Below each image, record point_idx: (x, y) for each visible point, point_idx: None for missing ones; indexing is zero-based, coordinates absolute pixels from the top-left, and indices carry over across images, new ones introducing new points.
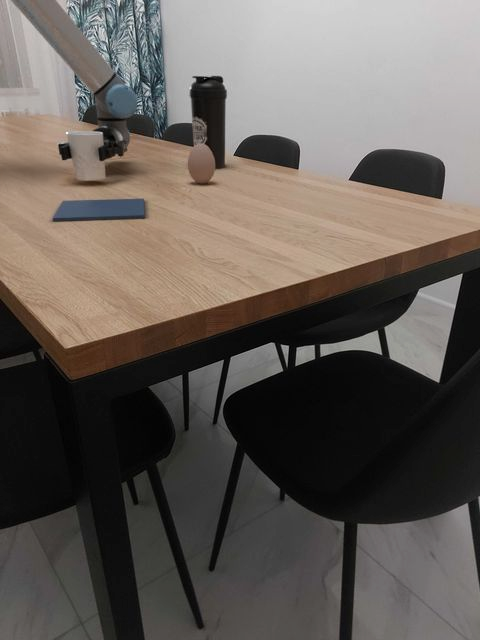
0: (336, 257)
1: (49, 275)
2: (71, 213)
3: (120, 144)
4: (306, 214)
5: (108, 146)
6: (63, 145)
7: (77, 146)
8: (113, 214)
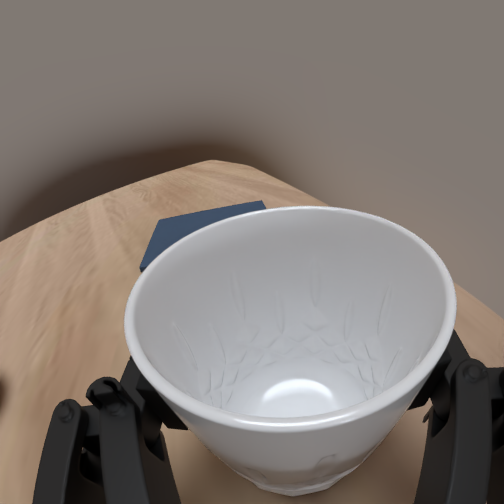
0: (81, 206)
1: (229, 170)
2: (245, 210)
3: (58, 410)
4: (24, 255)
5: (139, 419)
6: (501, 385)
7: (313, 268)
8: (193, 215)
